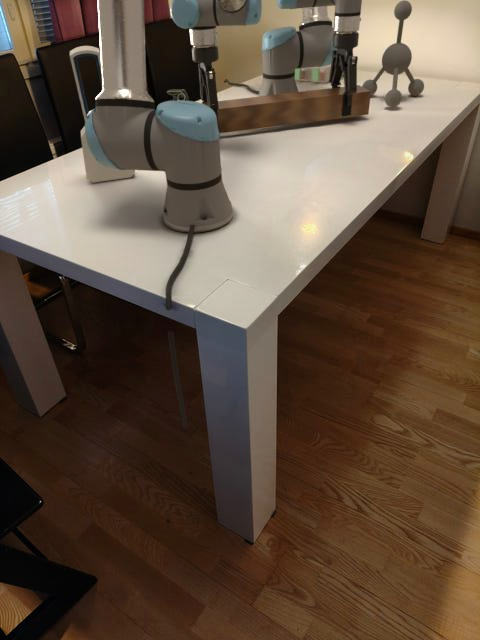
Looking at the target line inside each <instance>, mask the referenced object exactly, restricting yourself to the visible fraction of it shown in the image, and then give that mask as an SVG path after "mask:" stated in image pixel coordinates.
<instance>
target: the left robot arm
mask: <svg viewBox="0 0 480 640" xmlns="http://www.w3.org/2000/svg"><path fill="white" fill-rule="evenodd" d="M262 3H263V2H262V0H172V1H171V4H170V16H171V19H172V21H173V22H174V24H175V25H176V26H177V27H179V28H180V29H185V30H187V29H189V39H190V46H192V48H191V56H192V57H191V58H192V61H193V62H194V63H195V64H198V65H197V67H198V76H199V77H198V78H199V96H200V98H201V102H197V101H193V100H189V101H187V100H186V99H185V100H177V101H172V100H167V101H163V102H160V103H159V104H158V105H157V106H155V100H154V99H153V98H152V96H151V95H150V94H148V93H149V92H148V90H147V61H146V59H147V58H146V31H145V30H146V29H145V28H146V26H145V0H97V13H98V15H97V16H98V32H99V51H100V55H101V69H102V75H101V78H102V86H103V89H102V88H101V92H99V94H97V96H96V97H95V108H93V109H91V110H89V113H88V114H87V120H86V121H85V120H84V126H85V134H86V140H87V143H88V146H89V149H90V151H91V153H92V155H93V156H94V157H95V159H96V161H97V162H98V163H99V164H101V165H102V166H104V167H106V168H113V169H119V170H135V171H149V172H151V171H152V172H164V174H165V180H166V190H165V191H166V192H165V196H164V203H163V207H162V218H163V222H164V224H165V226H167V227H168V228H169V229H171V230H173V231H177V232H180V233H188V234H187V238H186V242H185V246H184V249H183V252H182V255H181V257H180V259H179V261H178V263H177V265H176V266H175V268H174V269H173V270H172V272H171V273H170V275H169V277H168V279H167V283H166V285H165V309H166V311H171V310H172V308H173V305H172V303H173V301H172V288H173V287H172V286H173V284H174V280H175V279H176V276H178V274H179V272H180V271H181V270H182V268H183V266H184V264H185V263H186V259H187V257H188V254H189V251H190V248H191V245H192V240H193V236H194V234H195V233H196V234H197V233H205V232H206V233H207V232H210V231H215V230H216V229H220V228H222V227H224V226H226V225H227V224H228V223H230V221H231V220H232V218H233V216H234V212H233V211H234V210H233V205H232V201H231V200H230V197H229V195H228V192H227V190H226V187H225V184H224V182H223V175H222V174H223V173H222V161H221V159H222V158H221V147H220V146H221V145H220V136H221V135H220V134H221V133H219V126H218V112H217V109H219V106H218V101H219V97H218V89H217V81H216V80H217V79H216V71H215V68H213V65H212V63H215V62H218V61H219V59H220V57H219V56H220V55H219V46H218V35H220V31H219V30H217V27H225V26H226V27H228V26H229V27H233V26H235V27H238V26H243V27H246V26H253V25H258V24H259V22H260V21H261V18H262V9H263V8H262ZM207 102H208V106H206V105H204V104H201V103H207ZM212 104H215V105H212ZM155 107H156V109H155ZM167 337H168V344H169V345H168V347H169V353H170V360H171V368H172V374H173V379H174V385H175V390H176V395H177V400H178V407H179V411H180V417H181V422H182V428H183V429H184V430H187V429H188V428H189V425H188V417H187V413H186V408H185V407H186V406H185V401H184V396H183V390H182V385H181V379H180V373H179V367H178V358H177V352H176V344H175V333H174V331H171V330H167Z"/></svg>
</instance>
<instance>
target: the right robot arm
mask: <svg viewBox="0 0 480 640" xmlns="http://www.w3.org/2000/svg"><path fill="white" fill-rule="evenodd" d="M362 3H363V1H362V0H276V4H277V7H278V8H279V9H281V10H296V9H302V10H301V11H302V21H301V22H300V23H299V25H298V30H297V29H296V27H295V26H283V27H278V28H273V29H271V30H268V31H266V32H265V33H264V34H263V36H262V37H261V38H262V41H261V56H262V58H261V62H262V65H261V66H262V81H261V86H260V87H259V90H256V89H253V88H251V87H250V86H249V85H248V84H246V83H238V82H237V83H236V82H230V81H229V79H227V78H225V79H223V83H225V84H226V83H227V84H228V85H230V86H235V87H243V88H246V89H247V90H248V91H250V92H252V93H254V94H258V96H257V97H259V96H268V95H277V94H285V93H294V92H299V88H298V84H297V80H295V69H298V68H309V67H322V66H327V65H330V64H331V69H330V76H329V82H328V83H329V84H330V86H331V88H338V87H341V86H342V83H341V79H342V76H343V84H344V86H343V87H345V92H344V93H343V108H342V116H349V115H351V107H352V96H353V93H356V92H357V85H358V59H359V58H358V55H354V48H357V47H358V46H359V38H360V33H359V32H358V31H360V25H361V24H360V23H361V21H362V18H361V14H362V13H361V12H362V5H363V4H362ZM328 7H334V15H333V20H332V19H330V17H329V16H328ZM342 73H343V75H342Z"/></svg>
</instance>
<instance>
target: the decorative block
mask: <svg viewBox="0 0 480 640" xmlns="http://www.w3.org/2000/svg"><path fill="white" fill-rule="evenodd" d="M330 69H331V64H330V65H327V66H322V67H309V68H298V69H295V81H302V82H303V81H304V82H313V83H314V82H315V83H323V84H327V83H329V76H330ZM342 76H343V73H342Z"/></svg>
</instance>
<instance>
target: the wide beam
mask: <svg viewBox="0 0 480 640" xmlns="http://www.w3.org/2000/svg"><path fill="white" fill-rule="evenodd" d="M362 86H363V85H360V84H357V92H356V93H353V96H352V107H351V115H349V116H342V108H343V93H344V92H345V86H340V87H338V88H332V87H330V88H321V89H312V90H303V91H298V92H294V93H285V94H277V95H268V96H259V95H258V96H259V97H258V96H251V97H242V98H234V99H226V100H225V99H223V100H218V106H219V109H217V112H218V126H219V134H225V133H233V132H242V131H250V130H258V129H264V128H274V127H281V126H290V125H296V124H298V125H299V124H306V123H315V122H321V121H329V120H338V119H345V118H346V119H347V118H352V117H361V116H368V115H369V113H370V106H371V105H370V103H371V97H372V96H371V91H370V90H368V89H366V88H364V87H362ZM200 103H201V104H204V105H206V106H208V102H207V103H202V102H200ZM212 105H215V104H212Z"/></svg>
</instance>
